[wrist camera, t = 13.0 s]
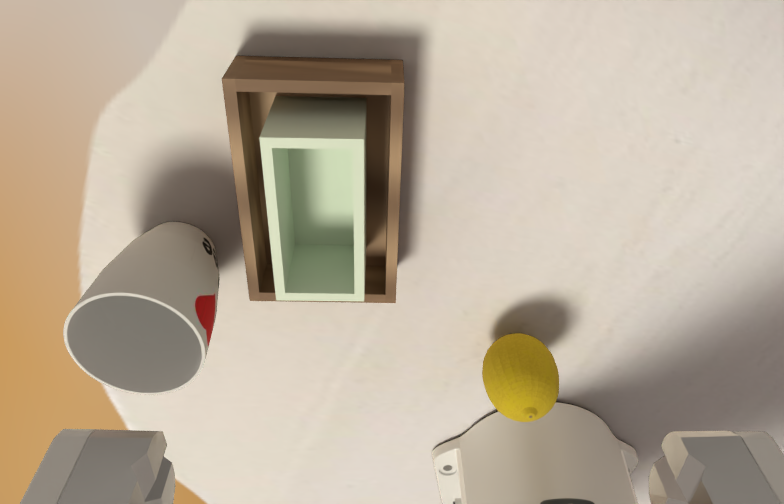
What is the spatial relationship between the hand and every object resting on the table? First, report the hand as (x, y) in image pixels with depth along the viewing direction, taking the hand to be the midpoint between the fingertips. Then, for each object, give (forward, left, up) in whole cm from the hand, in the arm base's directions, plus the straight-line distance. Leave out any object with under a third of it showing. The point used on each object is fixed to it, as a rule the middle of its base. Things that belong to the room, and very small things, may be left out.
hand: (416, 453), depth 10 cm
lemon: (-26, -10, -31) cm, 42 cm away
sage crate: (-11, +4, -30) cm, 32 cm away
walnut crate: (-11, +4, -31) cm, 33 cm away
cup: (-18, +15, -31) cm, 39 cm away
